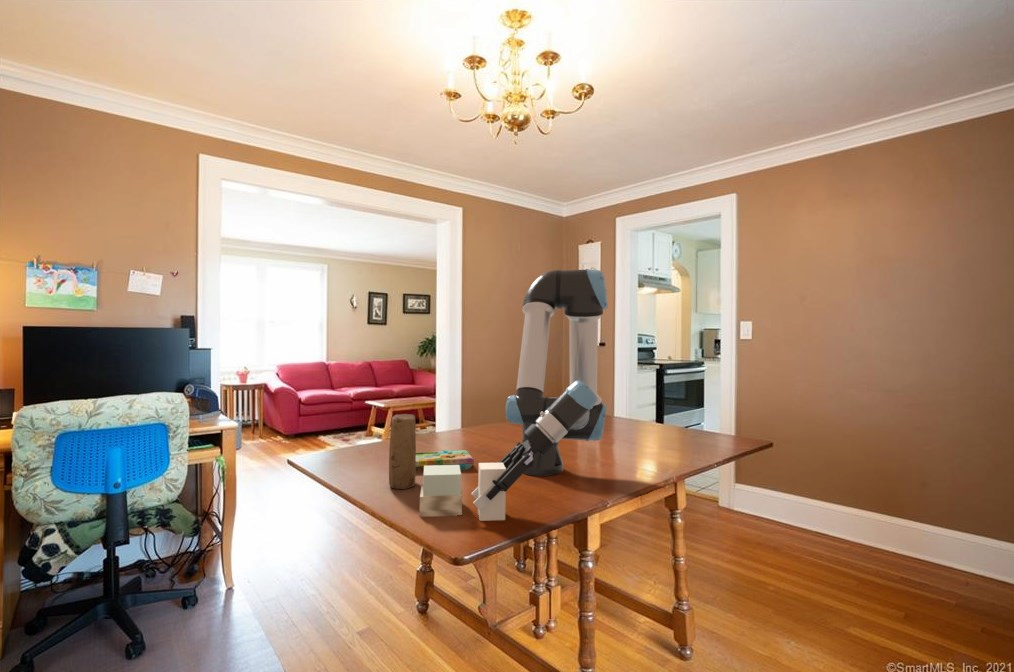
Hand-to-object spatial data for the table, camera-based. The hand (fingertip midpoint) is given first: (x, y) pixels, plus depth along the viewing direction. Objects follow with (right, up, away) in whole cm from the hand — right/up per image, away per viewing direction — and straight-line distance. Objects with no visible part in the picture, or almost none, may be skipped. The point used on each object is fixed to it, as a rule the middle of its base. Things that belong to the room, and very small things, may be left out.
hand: (476, 501), depth 119 cm
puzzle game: (-15, -4, +44) cm, 47 cm away
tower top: (-9, +1, +5) cm, 10 cm away
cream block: (+4, -3, 0) cm, 5 cm away
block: (-23, -3, +24) cm, 33 cm away
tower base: (-9, -4, +5) cm, 11 cm away
